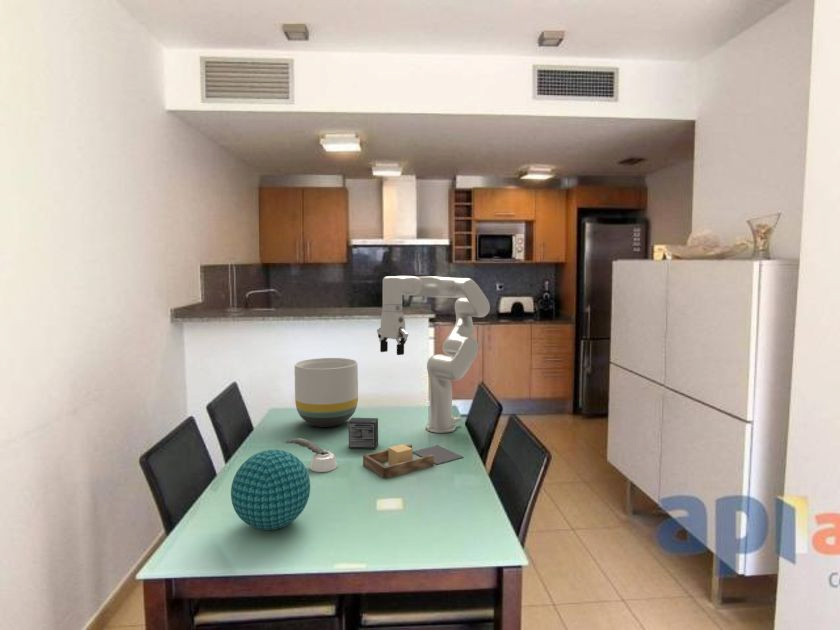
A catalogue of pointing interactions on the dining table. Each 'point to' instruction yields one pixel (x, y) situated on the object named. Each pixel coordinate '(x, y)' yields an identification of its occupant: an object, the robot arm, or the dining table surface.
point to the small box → (363, 433)
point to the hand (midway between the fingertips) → (392, 353)
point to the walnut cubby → (389, 471)
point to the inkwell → (317, 456)
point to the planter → (326, 390)
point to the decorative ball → (270, 489)
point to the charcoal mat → (438, 454)
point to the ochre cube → (399, 454)
